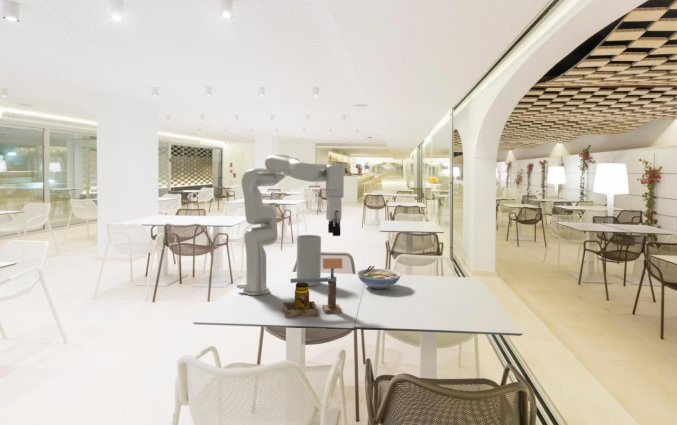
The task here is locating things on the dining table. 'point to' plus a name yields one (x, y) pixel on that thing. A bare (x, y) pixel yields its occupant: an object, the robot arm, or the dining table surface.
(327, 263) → the t key
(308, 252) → the cylinder vase
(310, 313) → the frame
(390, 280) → the ramen bowl
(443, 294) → the dining table surface
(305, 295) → the condiment
